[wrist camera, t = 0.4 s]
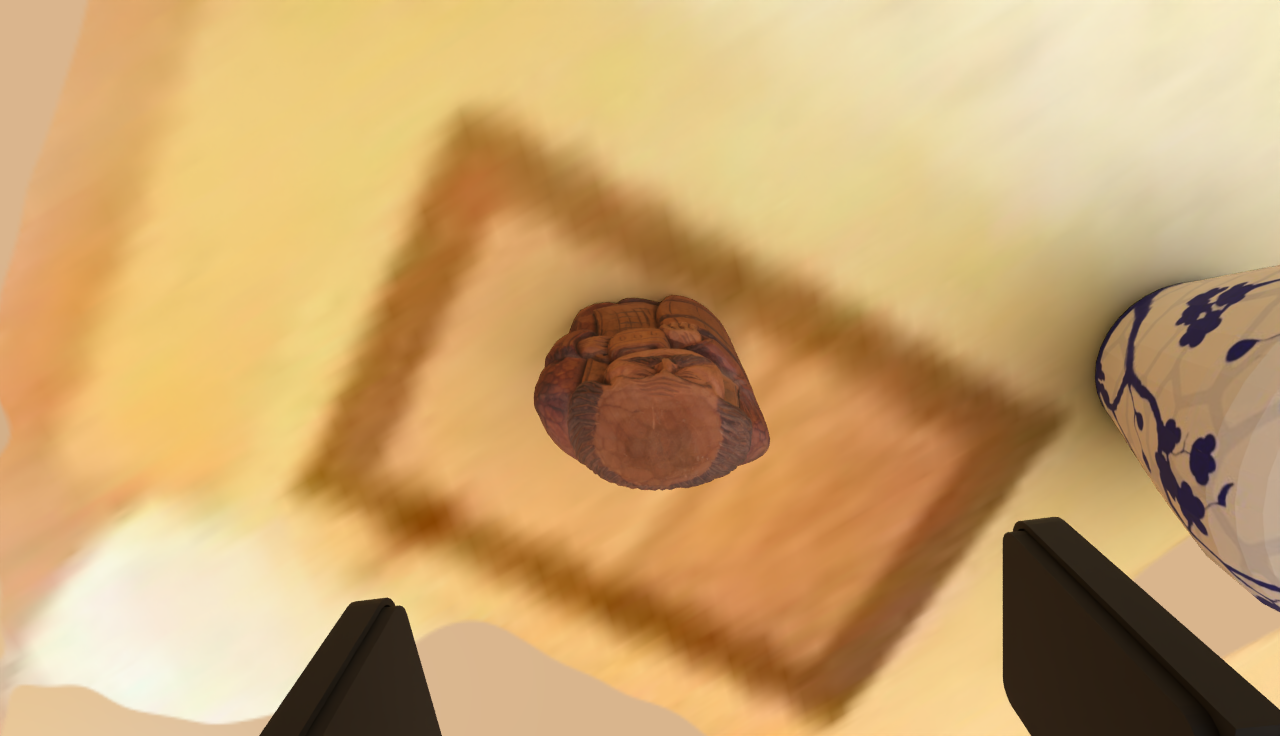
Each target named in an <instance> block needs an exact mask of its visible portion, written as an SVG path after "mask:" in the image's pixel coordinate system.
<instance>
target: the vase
mask: <svg viewBox="0 0 1280 736" xmlns="http://www.w3.org/2000/svg"><path fill="white" fill-rule="evenodd" d="M1095 381H1096V388H1097V393H1098V396H1099V398H1100V401H1101V403H1102V406H1103V407H1104V409H1105V410H1106V411H1107V413H1108V414H1109V416H1110V417H1111V418H1112V420H1113V421H1114V423H1115V424H1116V426H1117V427H1118V429H1119V431H1120V432H1121V434H1122V435H1123V437H1124V439H1125V440H1126V442H1127V443H1128V445H1129V447H1130V448H1131V450H1132V451H1133V453H1134V454H1135V456H1136V457H1137V459H1138V460H1139V462H1140V463H1141V465H1142V467H1143V468H1144V470H1145V471H1146V473H1147V474H1148V476H1149V477H1150V479H1151V480H1152V482H1153V483H1154V485H1155V486H1156V488H1157V489H1158V491H1159V492H1160V494H1161V495H1162V497H1163V498H1164V499H1165V501H1166V502H1167V504H1168V505H1169V507H1170V508H1171V509H1172V511H1173V512H1174V513H1175V515H1176V516H1177V517H1178V519H1179V520H1180V521H1181V523H1182V524H1183V525H1184V527H1185V528H1186V529H1187V531H1188V532H1189V533H1190V534H1191V536H1192V537H1193V538H1194V540H1195V541H1196V542H1197V544H1198V545H1199V546H1200V548H1201V549H1202V550H1203V552H1204V553H1205V554H1206V556H1208V557H1209V558H1210V559H1211V560H1212V561H1213V562H1215V563H1216V564H1217V565H1218V566H1220V568H1222V569H1223V570H1224V571H1225V572H1226V573H1228V574H1229V575H1230V576H1231V577H1232V578H1233V579H1235V580H1236V581H1237V582H1238V583H1239V584H1240V585H1242V586H1243V587H1244V588H1245V589H1246V590H1247V591H1249V592H1250V593H1251V594H1252V595H1253V596H1255V597H1256V598H1257V599H1258V600H1259V601H1260V602H1262V603H1263V604H1265V605H1267V606H1269V607H1271V608H1273V609H1275V610H1277V611H1279V612H1280V265H1278V266H1273V267H1267V268H1262V269H1256V270H1251V271H1246V272H1240V273H1235V274H1230V275H1225V276H1220V277H1214V278H1209V279H1204V280H1199V281H1193V282H1186V283H1179V284H1175V285H1172V286H1168V287H1165V288H1161V289H1159V290H1157V291H1155V292H1153V293H1151V294H1149V295H1147V296H1145V297H1144V298H1142V299H1141V300H1139V301H1138V302H1137V303H1135V304H1134V305H1132V306H1131V307H1130V308H1129V309H1128V310H1127V311H1126V312H1125V313H1124V314H1123V315H1122V316H1121V317H1120V318H1119V319H1118V320H1117V321H1116V322H1115V324H1114V325H1113V327H1112V328H1111V329H1110V331H1109V332H1108V334H1107V336H1106V338H1105V340H1104V342H1103V344H1102V346H1101V348H1100V351H1099V355H1098V358H1097V362H1096V372H1095Z"/></svg>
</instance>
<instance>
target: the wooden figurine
mask: <svg viewBox="0 0 1280 736" xmlns="http://www.w3.org/2000/svg"><path fill="white" fill-rule="evenodd" d="M534 406H535V409H536V411H537V413H538V415H539V417H540V419H541V421H542V424H543V426H544V428H545V429H546V431H547V433H548V435H549V436H550V437H551V438H552V440H553V441H554V442H555V444H557V445H558V446H559V447H560V448H561V449H562V450H563V451H564V452H565V453H567V454H568V455H570V456H571V457H573V458H575V459H576V460H578V461H579V462H580V463H582V464H584V465H586V466H587V467H588V468H589V469H590V470H593V472H594V473H595V474H598V475H599V476H600V477H601V478H602V479H605V480H606V481H608V482H610V483H616V484H617V485H619V486H626V487H629V488H631V489H635V488H639V489H641V490H655V491H656V490H657V489H660V490H665V489H669V490H672V489H674V488H680V487H681V488H689V487H692V486H698V485H701V484H704V483H707V482H711V481H712V480H714V479H715V478H720V477H723V476H725V475H727V474H729V473H730V471H733V470H734V469H736V467H737V466H739V465H743V464H746V463H749V462H751V461H754V460H756V459H757V458H759V457H761V456H762V455H763V454H764V453H765V452H766V451H767V449H768V448H769V444H770V437H769V432H768V428H767V425H766V422H765V420H764V417H763V414H762V412H761V410H760V408H759V406H758V403H757V401H756V399H755V396H754V393H753V390H752V387H751V385H750V383H749V380H748V378H747V375H746V373H745V371H744V369H743V367H742V365H741V363H740V360H739V358H738V356H737V354H736V352H735V349H734V347H733V345H732V343H731V340H730V338H729V336H728V334H727V332H726V330H725V329H724V327H723V325H722V324H721V323H720V321H719V320H718V319H717V318H716V317H715V316H714V315H713V314H712V313H711V312H710V311H709V310H708V309H707V308H705V307H704V306H702V305H701V304H699V303H698V302H696V301H694V300H692V299H689V298H686V297H682V296H675V295H672V296H668V297H667V298H665V299H664V300H663V301H662V302H661V303H659V302H654V301H650V300H646V299H639V298H626V299H623V300H621V301H619V302H618V303H617V304H615V303H610V302H606V303H599V304H593V305H591V306H588V307H586V308H584V309H582V310H580V312H579V313H578V314H577V316H576V318H575V319H574V321H573V324H572V326H571V329H570V332H569V334H567V335H565V336H563V337H562V338H561V339H559V340H558V341H557V342H556V343H555V344H554V346H553V347H552V349H551V350H550V352H549V353H548V355H547V356H546V360H545V368H544V369H543V371H542V372H541V374H540V377H539V380H538V382H537V384H536V387H535V392H534Z"/></svg>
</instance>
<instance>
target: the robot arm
mask: <svg viewBox="0 0 1280 736" xmlns="http://www.w3.org/2000/svg"><path fill="white" fill-rule="evenodd" d="M1003 683H1004V688H1005V691H1006V694H1007V697H1008V699H1009V702H1010V704H1011V705H1012V707H1013V709H1014V710H1015V712H1016V713H1017V715H1018V716H1019V718H1020V719H1021V721H1022V722H1023V724H1024V725H1025V727H1026V728H1027V730H1028V732H1029V733H1030V735H1031V736H1280V710H1279V709H1278V708H1277V707H1276V706H1275V705H1274V704H1273V703H1272V702H1270V701H1269V700H1268V699H1267V698H1266V697H1265V696H1264V695H1262V694H1261V693H1260V692H1259V691H1258V690H1257V689H1256V688H1254V687H1253V686H1252V685H1251V684H1250V683H1249V682H1248V681H1246V680H1245V679H1244V678H1243V677H1242V676H1241V675H1240V674H1238V673H1237V672H1236V671H1235V670H1234V669H1233V668H1232V667H1230V666H1229V665H1228V664H1227V663H1226V662H1225V661H1224V660H1223V659H1221V658H1220V657H1219V656H1218V655H1217V654H1216V653H1214V652H1213V651H1212V650H1211V649H1210V648H1209V647H1208V646H1207V645H1205V644H1204V643H1203V642H1202V641H1201V640H1200V639H1198V638H1197V637H1196V636H1195V635H1194V634H1193V633H1192V632H1190V631H1189V630H1188V629H1187V628H1186V627H1185V626H1184V625H1183V624H1181V623H1180V622H1179V621H1178V620H1177V619H1176V618H1174V617H1173V616H1172V615H1171V614H1170V613H1169V612H1168V611H1167V610H1166V609H1164V608H1163V607H1162V606H1161V605H1160V604H1159V603H1158V602H1156V601H1155V600H1154V599H1153V598H1152V597H1151V596H1150V595H1148V594H1147V593H1146V592H1145V591H1144V590H1143V589H1142V588H1140V587H1139V586H1138V585H1137V584H1136V583H1135V582H1134V581H1132V580H1131V579H1130V578H1129V577H1128V576H1127V575H1126V574H1124V573H1123V572H1122V571H1121V570H1120V569H1119V568H1118V567H1117V566H1115V565H1114V564H1113V563H1112V562H1111V561H1110V560H1109V559H1107V558H1106V557H1105V556H1104V555H1103V554H1102V553H1101V552H1099V551H1098V550H1097V549H1096V548H1095V547H1094V546H1093V545H1091V544H1090V543H1089V542H1088V541H1087V540H1086V539H1085V538H1083V537H1082V536H1081V535H1080V534H1079V533H1078V532H1077V531H1075V530H1074V529H1073V528H1072V527H1071V526H1070V525H1069V524H1068V523H1066V522H1065V521H1064V520H1063V519H1061V518H1059V517H1050V518H1041V519H1033V520H1025V521H1018V522H1017V523H1016V524H1015V526H1014V528H1013V532H1008V533H1006V534H1005V535H1004V537H1003ZM259 736H442V735H441V731H440V728H439V724H438V721H437V717H436V714H435V710H434V707H433V703H432V700H431V696H430V693H429V689H428V686H427V683H426V679H425V676H424V672H423V668H422V665H421V662H420V658H419V655H418V651H417V648H416V644H415V641H414V637H413V634H412V630H411V627H410V623H409V620H408V616H407V613H406V611H405V609H404V608H403V606H395V604H394V602H393V601H392V600H391V599H390V598H380V599H372V600H364V601H356V602H352V603H351V604H350V605H349V606H348V607H347V608H346V610H345V611H344V613H343V614H342V616H341V617H340V619H339V620H338V621H337V623H336V624H335V626H334V627H333V629H332V630H331V632H330V633H329V635H328V636H327V637H326V639H325V640H324V642H323V643H322V645H321V646H320V648H319V649H318V651H317V652H316V654H315V655H314V656H313V658H312V659H311V661H310V662H309V664H308V665H307V667H306V668H305V670H304V671H303V673H302V674H301V675H300V677H299V678H298V680H297V681H296V683H295V684H294V686H293V687H292V689H291V690H290V692H289V693H288V694H287V696H286V697H285V699H284V700H283V702H282V703H281V705H280V706H279V708H278V709H277V711H276V712H275V713H274V715H273V716H272V718H271V719H270V721H269V722H268V724H267V725H266V727H265V728H264V730H263V731H262V733H261V734H260V735H259Z"/></svg>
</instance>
